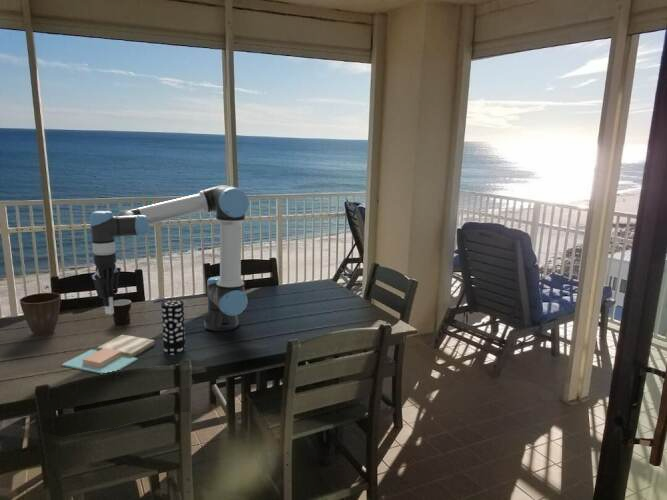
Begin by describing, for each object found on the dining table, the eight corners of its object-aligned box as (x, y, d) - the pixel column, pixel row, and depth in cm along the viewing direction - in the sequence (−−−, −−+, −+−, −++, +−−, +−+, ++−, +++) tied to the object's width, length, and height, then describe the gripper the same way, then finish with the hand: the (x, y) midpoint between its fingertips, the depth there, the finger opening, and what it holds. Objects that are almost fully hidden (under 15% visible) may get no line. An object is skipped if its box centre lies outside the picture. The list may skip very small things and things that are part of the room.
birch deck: (154, 344, 197) (154, 340, 197) (131, 358, 184) (130, 353, 184) (122, 339, 202) (122, 334, 202) (97, 352, 189) (97, 347, 189)
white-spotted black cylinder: (166, 346, 196) (164, 299, 192) (187, 346, 197) (185, 299, 193) (161, 355, 188) (158, 306, 184) (182, 354, 189) (180, 306, 184)
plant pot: (27, 329, 210) (23, 294, 206) (65, 325, 215) (62, 291, 212) (20, 342, 196) (16, 305, 193) (62, 337, 202) (58, 301, 199)
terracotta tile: (122, 355, 185) (121, 351, 185) (100, 367, 175) (99, 362, 174) (105, 352, 187) (104, 347, 187) (82, 364, 177) (82, 359, 177)
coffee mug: (125, 327, 214) (123, 306, 212) (107, 325, 216) (106, 304, 214) (140, 318, 226) (139, 298, 223) (123, 317, 227) (122, 296, 225)
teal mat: (137, 359, 184) (137, 358, 183) (110, 375, 170) (110, 374, 170) (91, 350, 190) (91, 349, 190) (62, 365, 177) (61, 364, 177)
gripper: (109, 248, 184) (114, 306, 189) (82, 255, 172) (88, 317, 177) (125, 250, 182) (129, 309, 187) (99, 257, 170) (104, 320, 175)
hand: (109, 313), depth 182 cm, fingers closed
